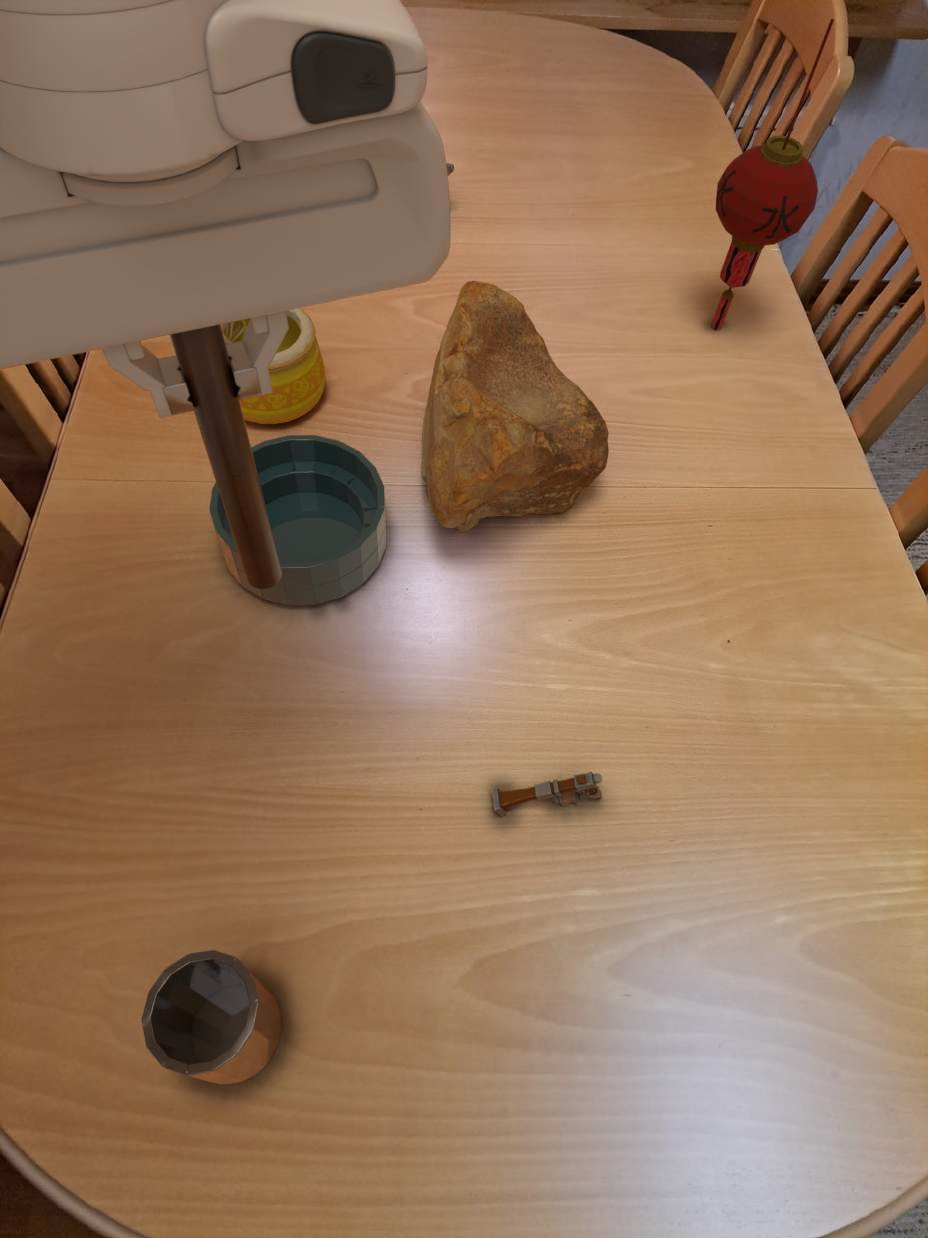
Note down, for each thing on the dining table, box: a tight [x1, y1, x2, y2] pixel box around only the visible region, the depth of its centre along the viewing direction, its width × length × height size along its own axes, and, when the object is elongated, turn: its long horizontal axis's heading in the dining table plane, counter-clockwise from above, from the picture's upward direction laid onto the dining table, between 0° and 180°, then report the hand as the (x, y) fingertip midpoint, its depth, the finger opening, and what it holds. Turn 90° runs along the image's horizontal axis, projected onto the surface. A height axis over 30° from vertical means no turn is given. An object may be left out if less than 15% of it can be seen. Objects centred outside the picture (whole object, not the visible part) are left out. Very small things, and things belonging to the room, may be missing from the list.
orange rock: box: [420, 280, 610, 533], centre depth 73 cm, size 23×17×15 cm
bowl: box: [209, 434, 387, 606], centre depth 71 cm, size 14×14×6 cm
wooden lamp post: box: [491, 770, 603, 817], centre depth 61 cm, size 2×8×4 cm, turn 96°
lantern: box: [710, 18, 835, 331], centre depth 79 cm, size 10×10×30 cm
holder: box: [141, 949, 283, 1085], centre depth 48 cm, size 6×6×10 cm
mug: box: [221, 308, 327, 425], centre depth 77 cm, size 13×11×12 cm
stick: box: [169, 324, 282, 589], centre depth 39 cm, size 2×2×18 cm
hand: (214, 395), depth 36 cm, fingers closed on stick, 2 cm apart
